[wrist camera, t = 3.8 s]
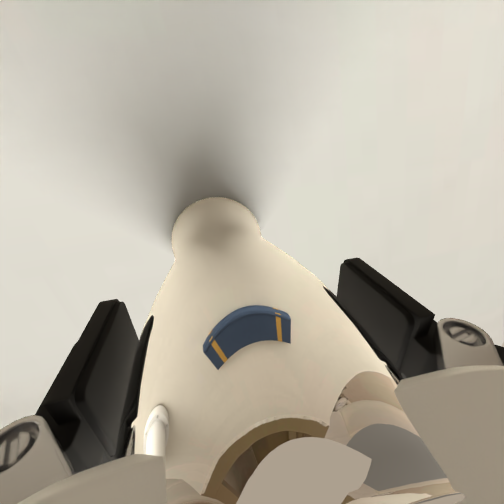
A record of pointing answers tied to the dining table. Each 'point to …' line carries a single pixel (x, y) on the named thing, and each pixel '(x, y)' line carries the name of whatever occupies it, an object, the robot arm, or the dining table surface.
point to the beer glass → (266, 382)
